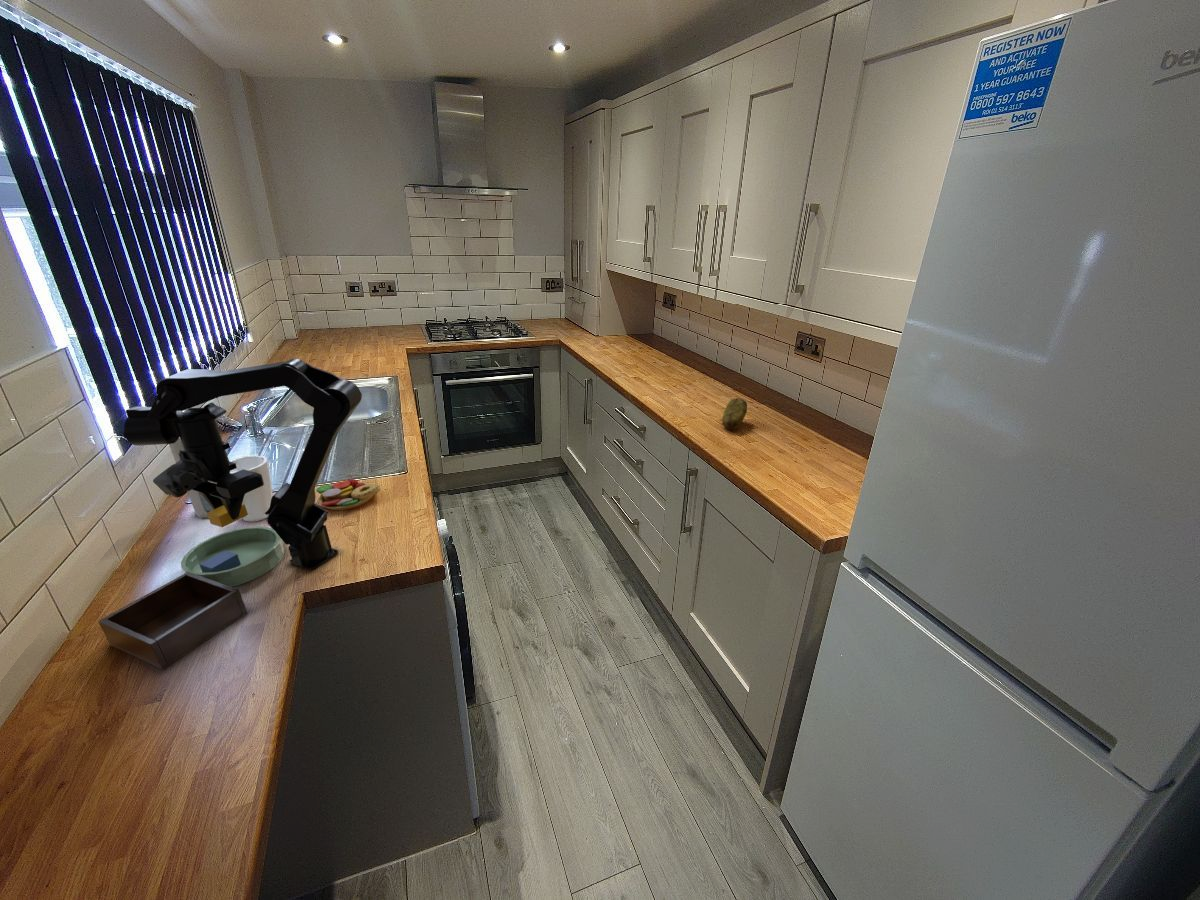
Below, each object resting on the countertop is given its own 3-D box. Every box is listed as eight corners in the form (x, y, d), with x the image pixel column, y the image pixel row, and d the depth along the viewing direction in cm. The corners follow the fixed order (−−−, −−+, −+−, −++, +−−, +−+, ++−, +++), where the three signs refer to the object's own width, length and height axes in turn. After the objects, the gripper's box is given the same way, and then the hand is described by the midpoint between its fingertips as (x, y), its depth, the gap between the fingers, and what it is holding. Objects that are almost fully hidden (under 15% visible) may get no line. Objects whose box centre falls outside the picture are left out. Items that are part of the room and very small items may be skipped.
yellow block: (236, 511, 103) (232, 500, 102) (248, 514, 102) (244, 504, 101) (210, 523, 99) (206, 512, 98) (222, 527, 98) (218, 516, 97)
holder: (197, 594, 96) (188, 571, 94) (247, 613, 91) (239, 589, 89) (110, 645, 84) (97, 621, 82) (162, 670, 80) (150, 644, 78)
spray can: (212, 503, 127) (185, 426, 119) (235, 505, 126) (209, 428, 118) (188, 516, 122) (157, 437, 113) (212, 519, 120) (182, 439, 112)
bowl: (248, 534, 114) (244, 520, 113) (302, 550, 108) (298, 535, 107) (167, 578, 100) (161, 563, 99) (224, 598, 95) (218, 583, 93)
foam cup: (240, 509, 124) (223, 459, 119) (284, 501, 128) (269, 452, 122) (232, 528, 116) (213, 476, 111) (279, 519, 120) (263, 468, 114)
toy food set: (387, 498, 128) (384, 486, 127) (332, 519, 119) (329, 507, 118) (362, 481, 137) (359, 470, 135) (309, 500, 128) (305, 489, 126)
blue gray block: (228, 560, 105) (225, 550, 104) (241, 564, 103) (237, 554, 102) (203, 574, 100) (199, 564, 99) (215, 579, 99) (211, 568, 98)
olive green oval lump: (711, 427, 168) (713, 404, 165) (731, 417, 177) (733, 394, 173) (735, 433, 163) (737, 409, 160) (753, 422, 172) (756, 399, 168)
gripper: (120, 450, 91) (152, 527, 97) (187, 468, 84) (217, 549, 90) (188, 428, 100) (214, 500, 106) (253, 442, 93) (276, 518, 99)
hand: (228, 516), depth 100 cm, fingers closed on yellow block, 3 cm apart
